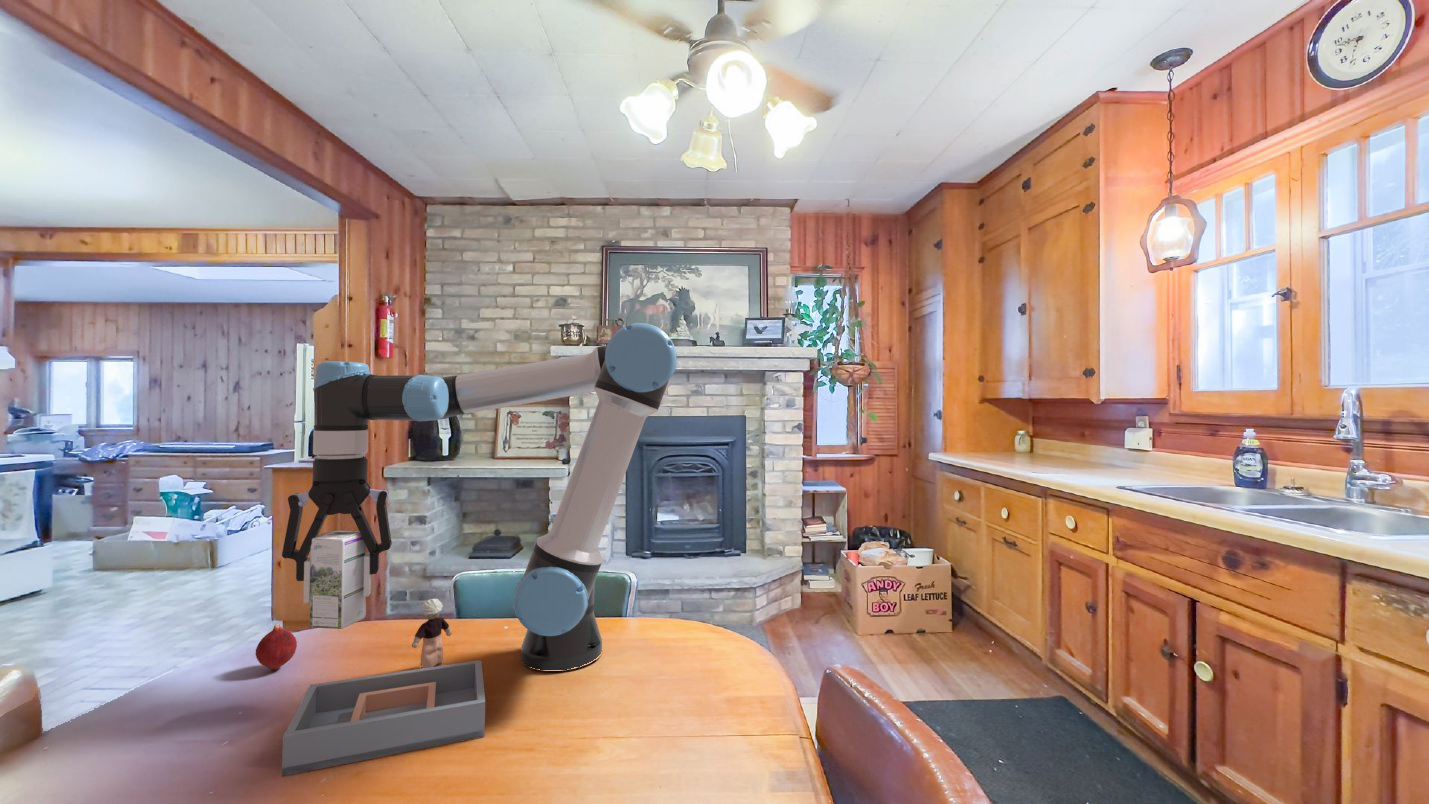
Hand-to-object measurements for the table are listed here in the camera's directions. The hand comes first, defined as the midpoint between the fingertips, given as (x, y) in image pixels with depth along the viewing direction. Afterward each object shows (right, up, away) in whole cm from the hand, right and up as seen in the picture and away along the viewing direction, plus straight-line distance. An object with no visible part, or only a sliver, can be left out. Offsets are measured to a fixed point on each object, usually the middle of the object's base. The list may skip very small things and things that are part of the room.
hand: (338, 597), depth 94 cm
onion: (-17, -16, +9) cm, 25 cm away
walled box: (+14, -16, -9) cm, 23 cm away
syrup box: (0, -4, 0) cm, 4 cm away
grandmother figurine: (+10, -17, +10) cm, 22 cm away
